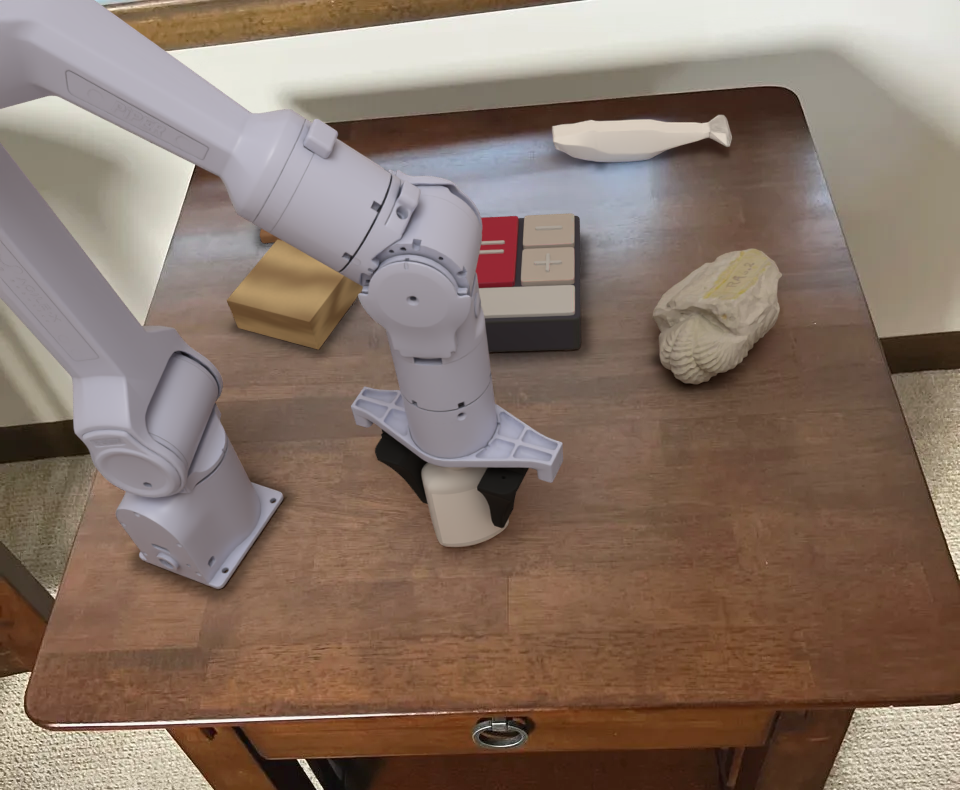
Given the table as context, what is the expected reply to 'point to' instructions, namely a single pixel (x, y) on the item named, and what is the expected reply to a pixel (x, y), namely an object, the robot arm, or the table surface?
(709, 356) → the fossil replica
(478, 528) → the eye dropper bottle
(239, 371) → the table surface
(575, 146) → the toy fish
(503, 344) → the calculator
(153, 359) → the robot arm
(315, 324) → the maple block
